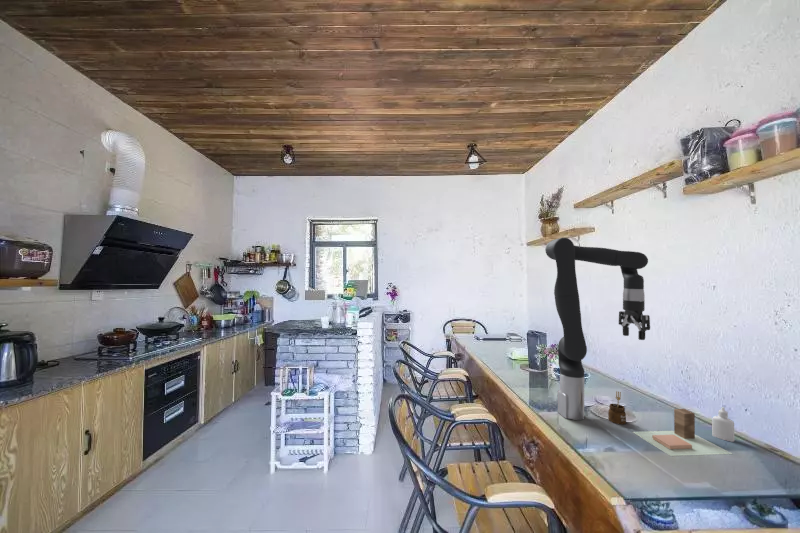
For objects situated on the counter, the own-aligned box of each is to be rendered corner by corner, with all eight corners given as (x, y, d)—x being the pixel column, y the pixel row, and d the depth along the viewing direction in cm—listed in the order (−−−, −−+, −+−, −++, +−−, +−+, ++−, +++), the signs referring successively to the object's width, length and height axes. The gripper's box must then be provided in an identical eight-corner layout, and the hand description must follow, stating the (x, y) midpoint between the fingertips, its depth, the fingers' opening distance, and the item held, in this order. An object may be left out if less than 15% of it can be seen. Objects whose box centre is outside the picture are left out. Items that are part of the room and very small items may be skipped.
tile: (692, 449, 111) (669, 449, 111) (673, 438, 118) (652, 439, 118) (692, 444, 111) (669, 445, 111) (673, 434, 118) (652, 435, 118)
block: (684, 438, 118) (684, 413, 118) (674, 433, 122) (674, 409, 122) (694, 438, 118) (694, 413, 118) (684, 433, 122) (684, 408, 122)
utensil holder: (606, 423, 132) (606, 393, 132) (610, 418, 136) (610, 389, 136) (624, 428, 128) (624, 397, 128) (627, 423, 132) (627, 393, 132)
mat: (670, 459, 107) (670, 455, 107) (632, 434, 123) (632, 431, 123) (732, 456, 109) (732, 453, 109) (687, 432, 124) (687, 430, 124)
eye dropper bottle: (720, 436, 122) (720, 404, 122) (737, 444, 116) (737, 410, 117) (709, 436, 122) (709, 404, 122) (725, 444, 116) (725, 410, 116)
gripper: (613, 298, 146) (613, 334, 146) (638, 301, 132) (638, 341, 132) (629, 298, 147) (629, 334, 147) (656, 301, 133) (656, 341, 132)
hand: (633, 337), depth 139 cm, fingers open, 8 cm apart
